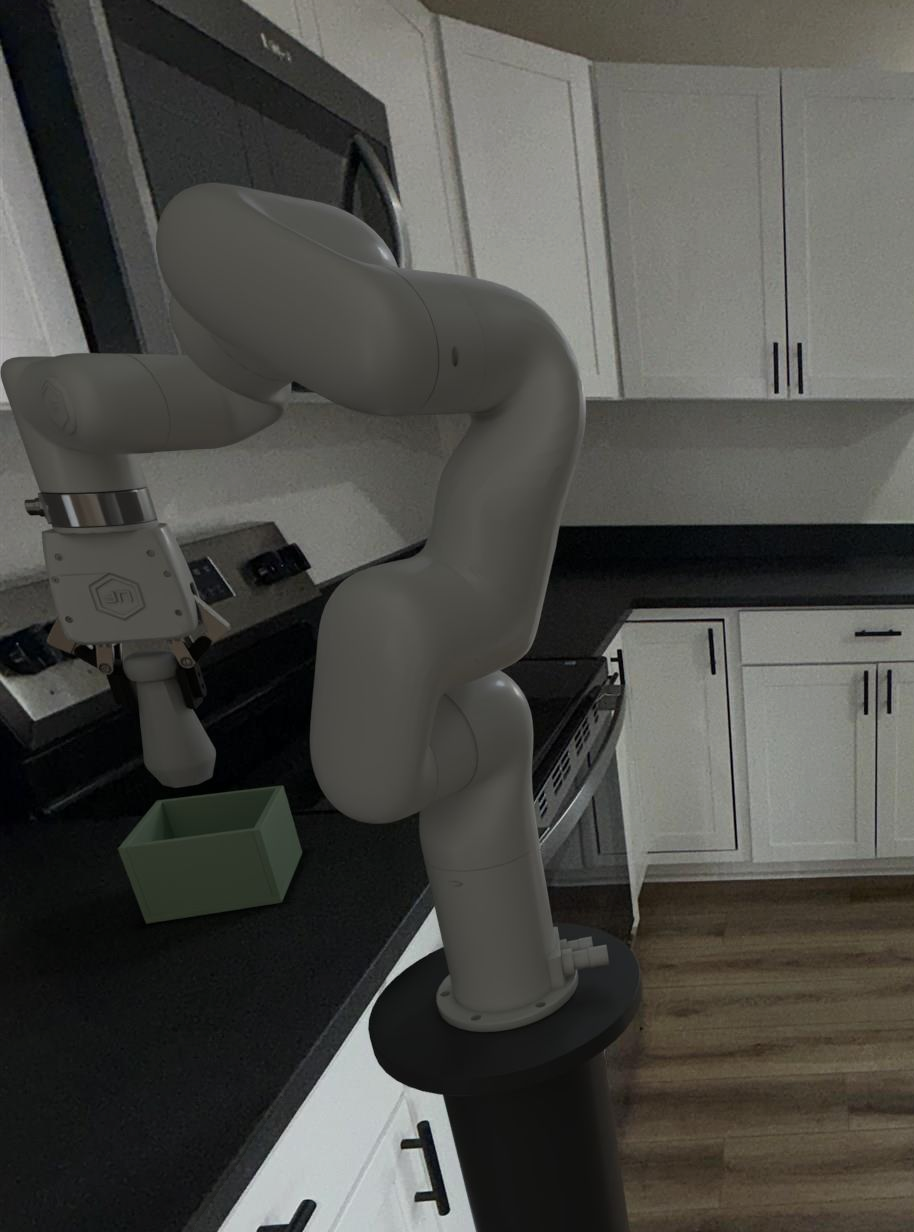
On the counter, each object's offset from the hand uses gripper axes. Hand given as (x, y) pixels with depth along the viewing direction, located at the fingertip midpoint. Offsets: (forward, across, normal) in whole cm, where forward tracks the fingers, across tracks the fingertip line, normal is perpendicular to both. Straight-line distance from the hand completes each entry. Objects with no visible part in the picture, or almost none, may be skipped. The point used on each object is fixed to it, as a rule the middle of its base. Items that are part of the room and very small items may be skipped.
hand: (165, 705), depth 89 cm
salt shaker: (+8, 0, 0) cm, 8 cm away
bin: (+23, -1, +5) cm, 23 cm away
